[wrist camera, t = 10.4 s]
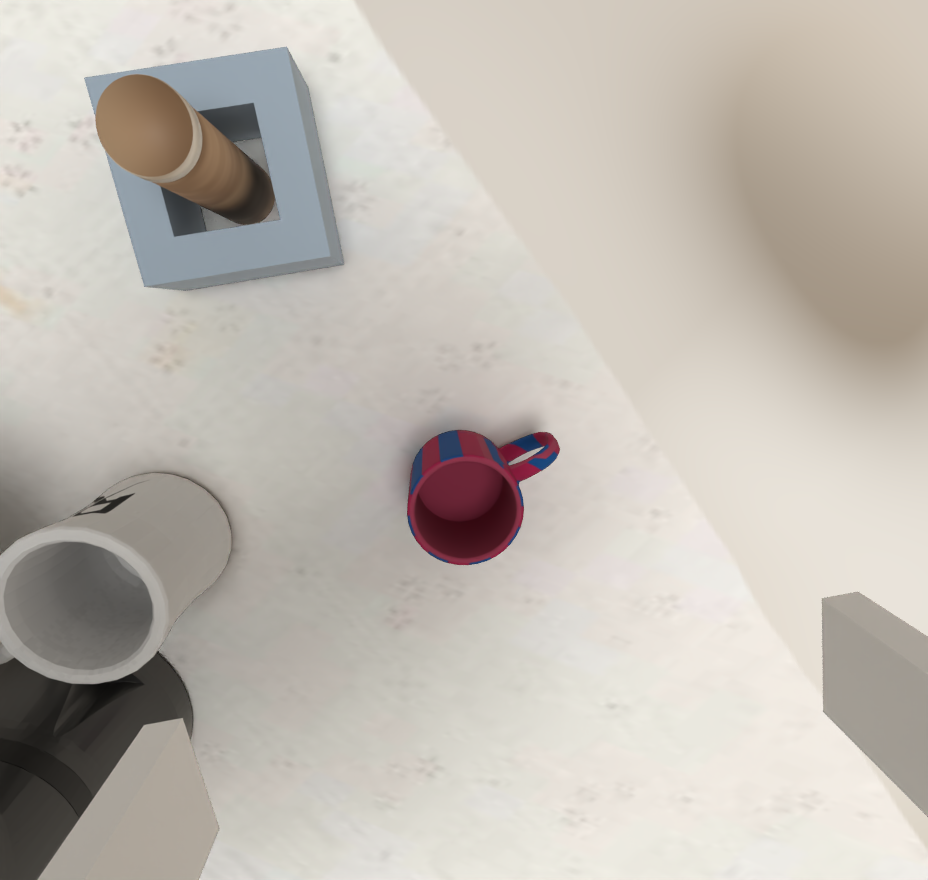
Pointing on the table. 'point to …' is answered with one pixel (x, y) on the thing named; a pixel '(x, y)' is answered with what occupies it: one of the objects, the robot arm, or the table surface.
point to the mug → (110, 579)
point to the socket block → (290, 165)
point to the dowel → (180, 149)
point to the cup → (471, 493)
